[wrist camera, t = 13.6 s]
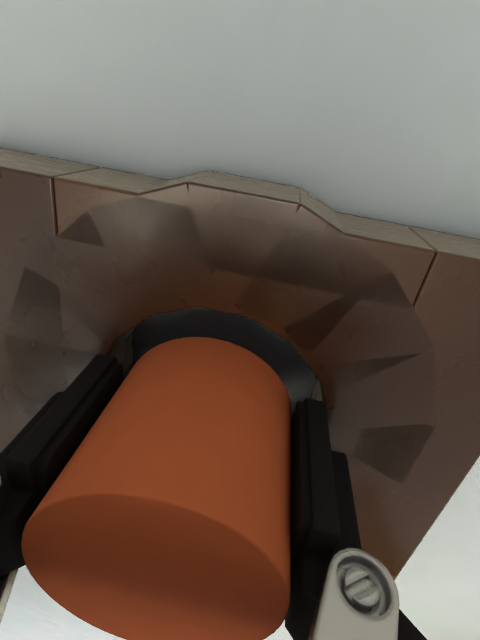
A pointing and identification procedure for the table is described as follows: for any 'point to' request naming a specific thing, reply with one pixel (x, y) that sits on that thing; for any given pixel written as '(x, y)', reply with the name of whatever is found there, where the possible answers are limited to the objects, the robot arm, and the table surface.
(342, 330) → the back board
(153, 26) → the table surface
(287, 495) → the orange cylinder
